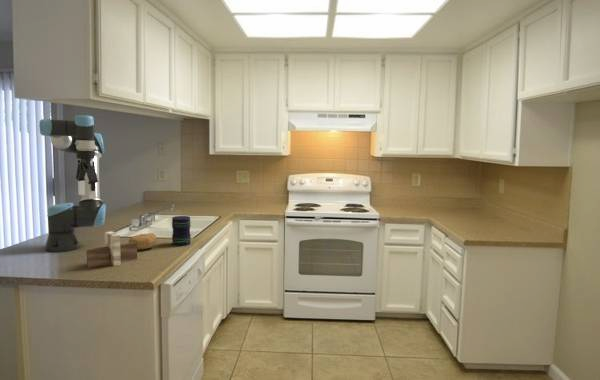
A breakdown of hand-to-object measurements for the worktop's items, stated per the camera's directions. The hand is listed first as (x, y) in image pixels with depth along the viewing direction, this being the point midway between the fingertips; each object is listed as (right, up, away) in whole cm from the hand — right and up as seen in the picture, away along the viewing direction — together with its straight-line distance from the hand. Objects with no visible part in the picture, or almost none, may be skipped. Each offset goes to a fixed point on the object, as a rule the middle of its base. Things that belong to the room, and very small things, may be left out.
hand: (87, 196), depth 187 cm
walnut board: (+11, -31, +2) cm, 33 cm away
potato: (+16, -28, +26) cm, 42 cm away
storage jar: (+32, -27, +39) cm, 57 cm away
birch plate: (+11, -31, +2) cm, 33 cm away
